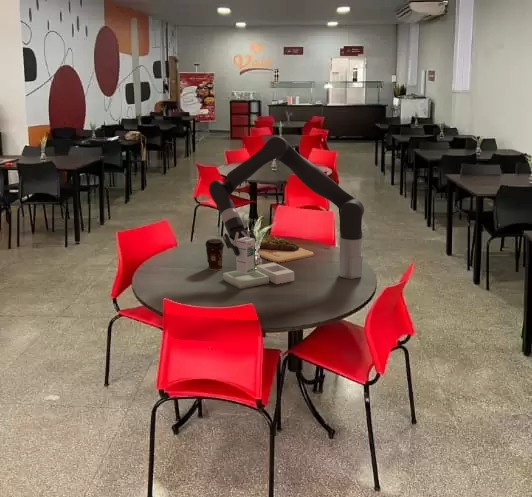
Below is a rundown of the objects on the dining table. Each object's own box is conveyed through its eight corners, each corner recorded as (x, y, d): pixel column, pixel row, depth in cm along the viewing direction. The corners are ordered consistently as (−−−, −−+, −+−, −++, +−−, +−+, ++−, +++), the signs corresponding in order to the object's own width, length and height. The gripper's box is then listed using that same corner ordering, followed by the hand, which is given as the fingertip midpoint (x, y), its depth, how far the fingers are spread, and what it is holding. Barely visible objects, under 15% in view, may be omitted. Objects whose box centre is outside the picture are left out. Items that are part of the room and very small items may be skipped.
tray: (268, 283, 273) (268, 276, 272) (240, 288, 265) (239, 281, 264) (251, 274, 284) (251, 267, 283) (223, 279, 277) (223, 273, 276)
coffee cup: (201, 269, 290) (201, 241, 287) (211, 264, 297) (211, 237, 294) (218, 272, 286) (217, 244, 283) (228, 267, 294) (227, 239, 290)
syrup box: (246, 274, 270) (247, 241, 266) (235, 271, 273) (236, 238, 269) (255, 271, 274) (255, 238, 270) (244, 268, 278) (244, 236, 274)
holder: (294, 280, 276) (294, 271, 275) (276, 284, 271) (276, 275, 270) (273, 271, 289) (273, 262, 288) (256, 274, 284) (256, 265, 283)
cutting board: (236, 248, 328) (236, 233, 326) (273, 241, 341) (273, 227, 339) (276, 264, 301) (277, 249, 299) (315, 256, 314) (316, 241, 312)
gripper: (220, 218, 271) (234, 251, 264) (249, 214, 278) (264, 246, 272) (214, 227, 276) (228, 261, 270) (243, 223, 284) (257, 256, 278)
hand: (246, 253), depth 271 cm, fingers closed on syrup box, 7 cm apart
